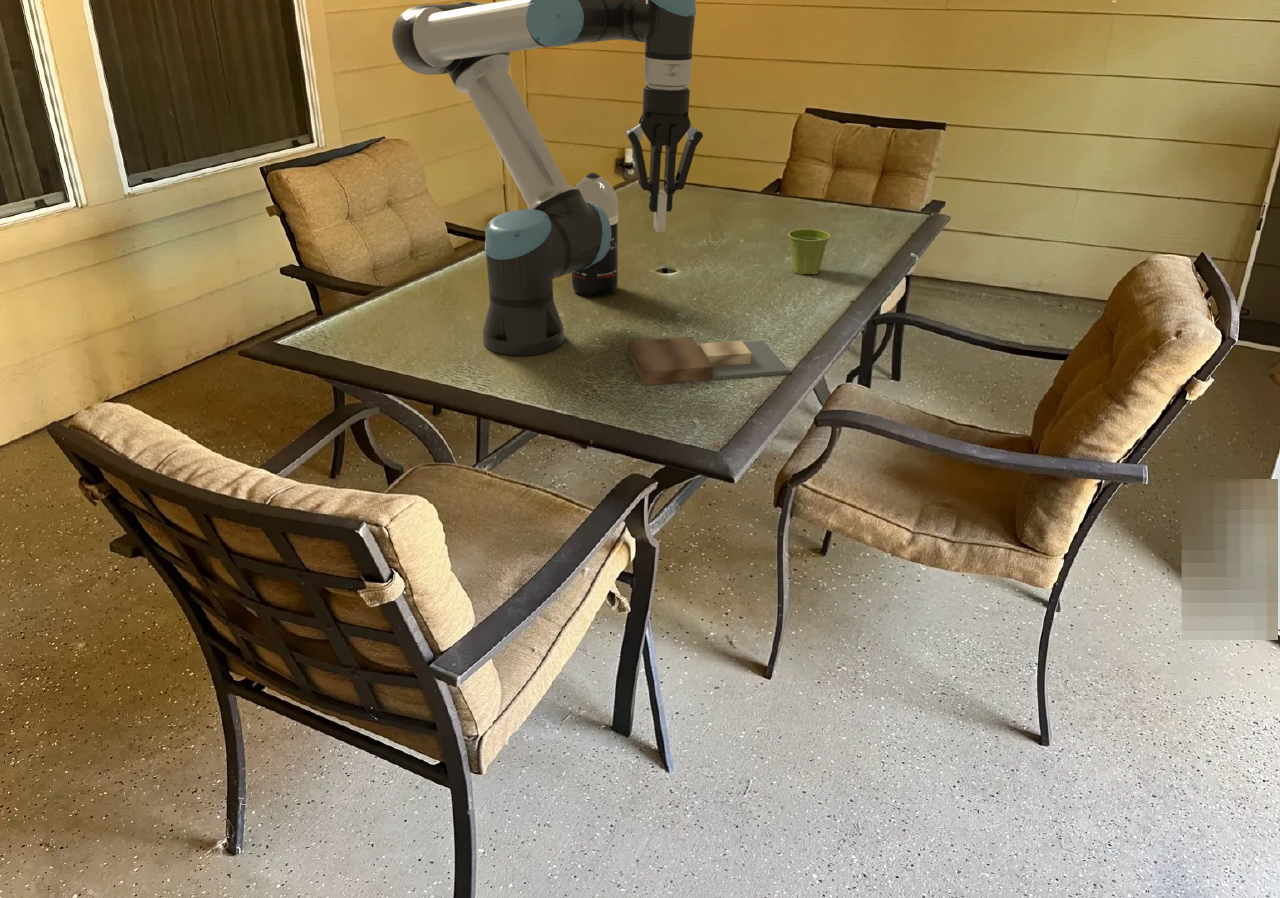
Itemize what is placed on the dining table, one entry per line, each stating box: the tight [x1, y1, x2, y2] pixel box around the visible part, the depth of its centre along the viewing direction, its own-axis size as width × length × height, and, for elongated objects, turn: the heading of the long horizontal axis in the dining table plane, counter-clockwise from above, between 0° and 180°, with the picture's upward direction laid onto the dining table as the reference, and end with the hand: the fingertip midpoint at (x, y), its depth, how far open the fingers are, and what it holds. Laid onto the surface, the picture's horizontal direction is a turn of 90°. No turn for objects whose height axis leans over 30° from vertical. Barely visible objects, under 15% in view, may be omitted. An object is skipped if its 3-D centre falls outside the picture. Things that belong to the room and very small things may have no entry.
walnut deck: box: [627, 336, 713, 386], centre depth 161 cm, size 12×14×2 cm
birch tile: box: [698, 340, 751, 366], centre depth 163 cm, size 8×6×2 cm
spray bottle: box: [571, 172, 619, 297], centre depth 191 cm, size 10×10×25 cm
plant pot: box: [787, 228, 831, 275], centre depth 208 cm, size 9×9×9 cm
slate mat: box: [711, 340, 790, 381], centre depth 164 cm, size 14×14×1 cm
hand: (659, 229), depth 159 cm, fingers closed
